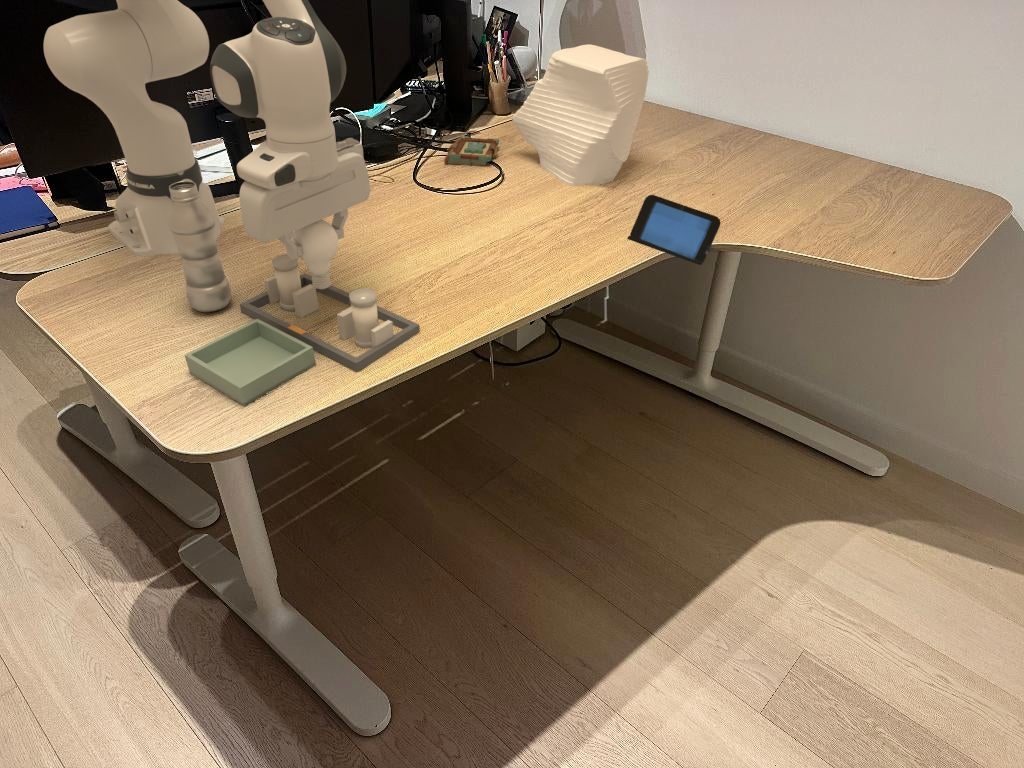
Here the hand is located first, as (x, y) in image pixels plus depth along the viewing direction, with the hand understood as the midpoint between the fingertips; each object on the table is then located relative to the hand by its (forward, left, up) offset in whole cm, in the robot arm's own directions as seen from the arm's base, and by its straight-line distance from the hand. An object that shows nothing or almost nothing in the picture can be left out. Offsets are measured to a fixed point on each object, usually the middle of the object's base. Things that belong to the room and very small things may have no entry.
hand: (316, 247), depth 108 cm
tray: (+1, -15, -13) cm, 20 cm away
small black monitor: (+31, +50, -13) cm, 60 cm away
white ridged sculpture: (-4, +78, -13) cm, 79 cm away
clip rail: (0, 0, -13) cm, 13 cm away
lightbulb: (0, 0, -7) cm, 7 cm away
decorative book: (-25, +67, -13) cm, 72 cm away
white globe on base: (-8, 0, -13) cm, 15 cm away
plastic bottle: (-18, -8, -13) cm, 23 cm away
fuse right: (+9, 0, -13) cm, 15 cm away
